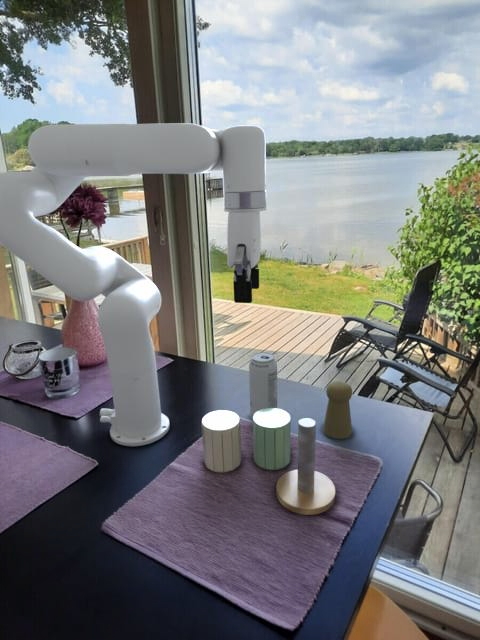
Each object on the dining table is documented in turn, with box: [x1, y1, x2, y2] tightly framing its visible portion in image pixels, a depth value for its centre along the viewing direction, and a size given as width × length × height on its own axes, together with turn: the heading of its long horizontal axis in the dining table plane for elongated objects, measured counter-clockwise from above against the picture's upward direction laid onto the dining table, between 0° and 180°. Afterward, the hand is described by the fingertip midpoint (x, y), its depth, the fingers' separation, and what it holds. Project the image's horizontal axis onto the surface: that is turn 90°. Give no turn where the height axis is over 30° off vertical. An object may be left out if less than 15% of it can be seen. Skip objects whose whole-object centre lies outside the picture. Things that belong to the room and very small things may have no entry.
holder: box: [275, 417, 337, 516], centre depth 73 cm, size 10×10×14 cm
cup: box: [201, 409, 242, 473], centre depth 83 cm, size 7×7×9 cm
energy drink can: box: [248, 351, 278, 420], centre depth 96 cm, size 6×6×15 cm
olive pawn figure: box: [322, 380, 353, 440], centre depth 91 cm, size 6×6×11 cm
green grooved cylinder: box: [252, 407, 292, 471], centre depth 84 cm, size 7×7×9 cm
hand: (247, 295), depth 84 cm, fingers open, 9 cm apart
